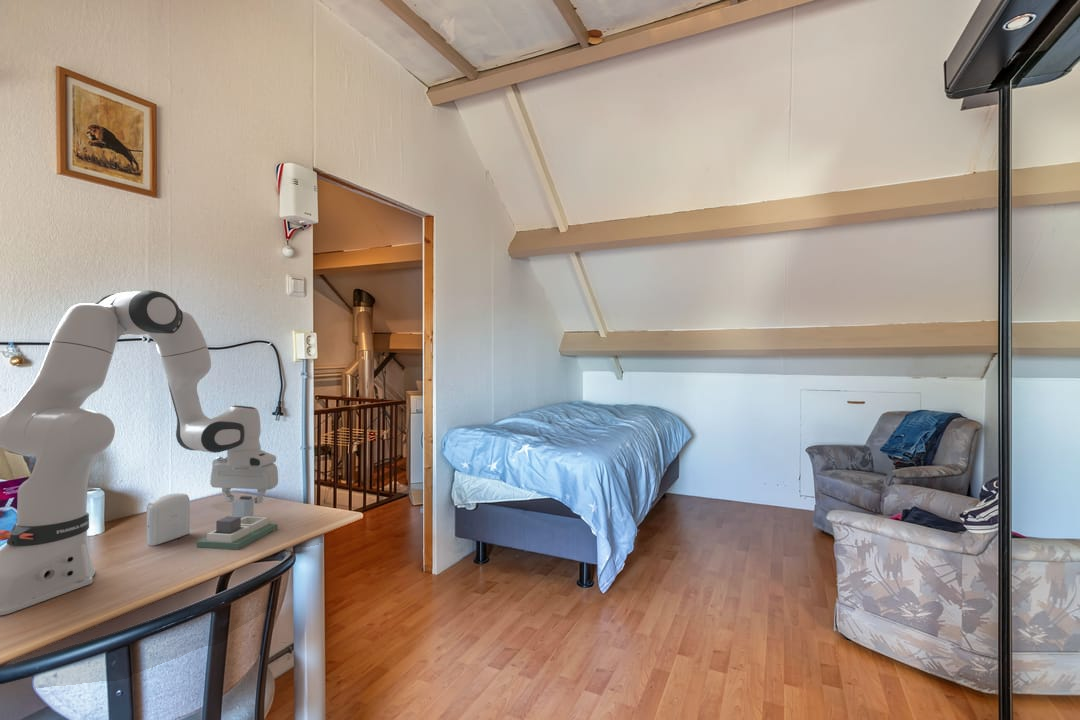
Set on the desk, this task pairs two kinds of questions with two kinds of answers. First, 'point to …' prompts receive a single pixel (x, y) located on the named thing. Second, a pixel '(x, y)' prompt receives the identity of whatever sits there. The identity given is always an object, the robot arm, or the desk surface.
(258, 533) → the header board
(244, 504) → the plug
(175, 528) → the photo printer
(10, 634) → the desk surface
